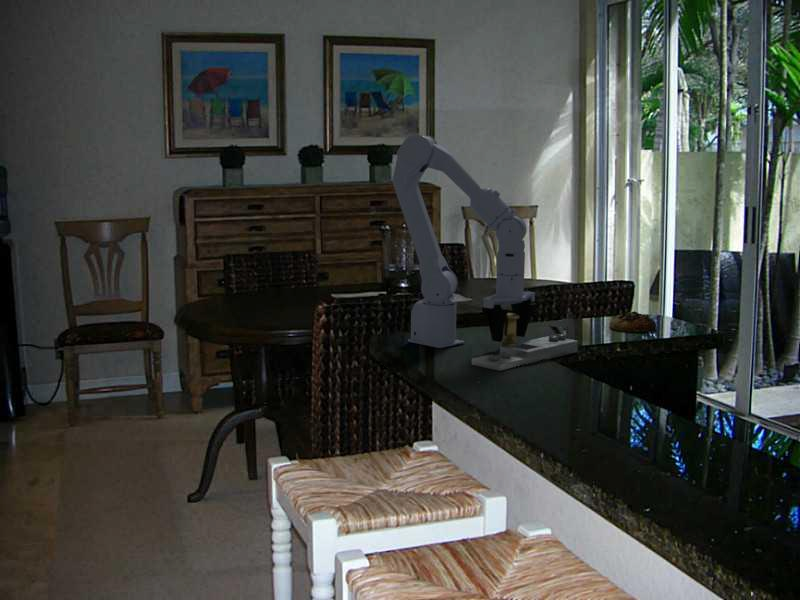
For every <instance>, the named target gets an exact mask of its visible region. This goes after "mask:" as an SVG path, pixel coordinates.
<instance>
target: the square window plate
mask: <svg viewBox="0 0 800 600" xmlns="http://www.w3.org/2000/svg"><path fill="white" fill-rule="evenodd" d="M543 359H546V360H551V359H550V353H547V354H543V355H539V356H535V357H530V358H525V357H520V356H515V355H511V353H510V352H501V353H500V351H499V352H495V353H491V354H486V355H482V356H478V357H473V358H471V365H472V366H474V367H475V366H477V367H480V368H485V369H490V370H495V371H499V372H501V371H504V370H509V369H513V367H514V368H517V367H516V366H518V367H520V365H522V366H524V365H523V364H526V365H529V364H528V363H530V364H534V363H538V362H537V361H539V362H541V361H540V360H543ZM546 360H545V361H546ZM543 361H544V360H543ZM533 362H534V363H533Z"/></svg>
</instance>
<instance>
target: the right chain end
mask: <svg viewBox="0 0 800 600" xmlns="http://www.w3.org/2000/svg"><path fill="white" fill-rule="evenodd" d="M578 346H579V340H575V339H573V340H571V339H566V333H565V334H564V333H557V334H555V335H549V336H544V337H539V338H534V339H529V340H525V341H519V342H516V343H514V344H509V345H505V346H501V345H500V346H499V352H500V353H501V352H510V353H511V355H515V356H520V357H525V358H530V357H535V356H539V355H543V354H547V353H550V359H549V360H551V359H555V358H557V357H559V358H560V357H563V356H566V355H567V356H568V355H570V354H571V355H572V354H575V353H578V348H579V347H578Z"/></svg>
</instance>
